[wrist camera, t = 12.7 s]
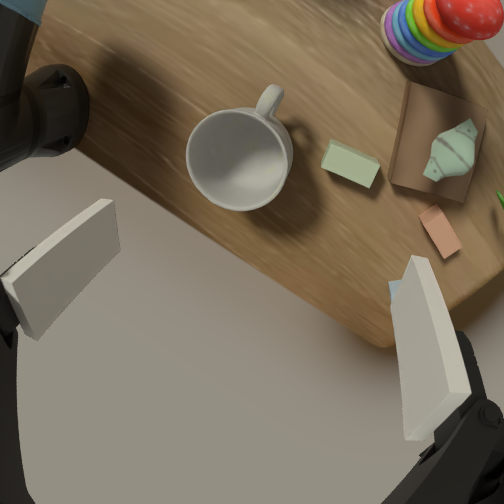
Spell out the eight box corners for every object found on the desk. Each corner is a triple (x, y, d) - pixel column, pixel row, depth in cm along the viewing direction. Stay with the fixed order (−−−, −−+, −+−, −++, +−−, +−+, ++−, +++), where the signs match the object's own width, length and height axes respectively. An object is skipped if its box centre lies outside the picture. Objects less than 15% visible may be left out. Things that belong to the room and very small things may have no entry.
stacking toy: (449, 66, 26) (540, 71, 11) (386, 67, 29) (441, 61, 13) (435, 4, 23) (513, -36, 7) (371, 4, 25) (408, -54, 10)
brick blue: (390, 297, 44) (392, 310, 42) (388, 281, 43) (390, 294, 41) (427, 289, 42) (431, 302, 40) (427, 273, 41) (431, 286, 38)
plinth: (387, 176, 35) (390, 183, 33) (406, 81, 29) (411, 81, 27) (456, 195, 34) (463, 203, 32) (479, 107, 28) (488, 109, 26)
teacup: (259, 203, 41) (244, 231, 35) (193, 151, 39) (165, 169, 33) (332, 123, 34) (333, 135, 27) (259, 64, 32) (241, 62, 25)
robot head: (449, 107, 27) (473, 116, 21) (472, 132, 28) (499, 146, 22) (407, 158, 31) (423, 176, 26) (431, 181, 32) (450, 203, 26)
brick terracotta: (418, 215, 37) (423, 225, 35) (436, 202, 36) (442, 212, 33) (438, 247, 39) (444, 259, 36) (455, 235, 37) (462, 246, 34)
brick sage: (321, 160, 37) (320, 167, 34) (330, 138, 35) (331, 143, 33) (366, 180, 37) (369, 188, 34) (376, 158, 35) (380, 165, 32)
